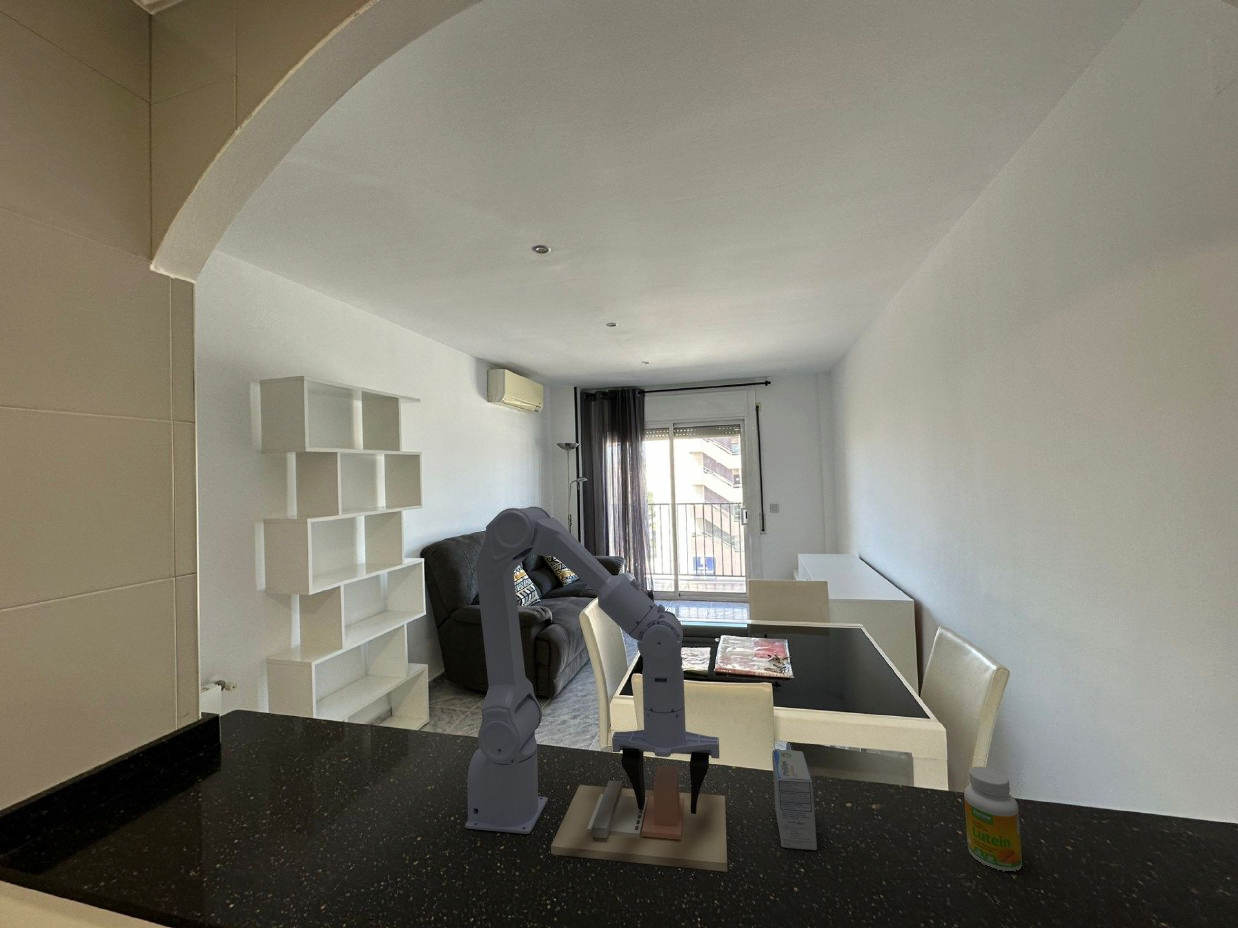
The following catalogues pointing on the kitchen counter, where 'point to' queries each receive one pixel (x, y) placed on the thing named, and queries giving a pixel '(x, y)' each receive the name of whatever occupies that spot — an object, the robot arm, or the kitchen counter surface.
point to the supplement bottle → (992, 820)
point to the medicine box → (794, 800)
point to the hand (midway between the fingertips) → (667, 807)
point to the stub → (664, 805)
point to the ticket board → (615, 826)
